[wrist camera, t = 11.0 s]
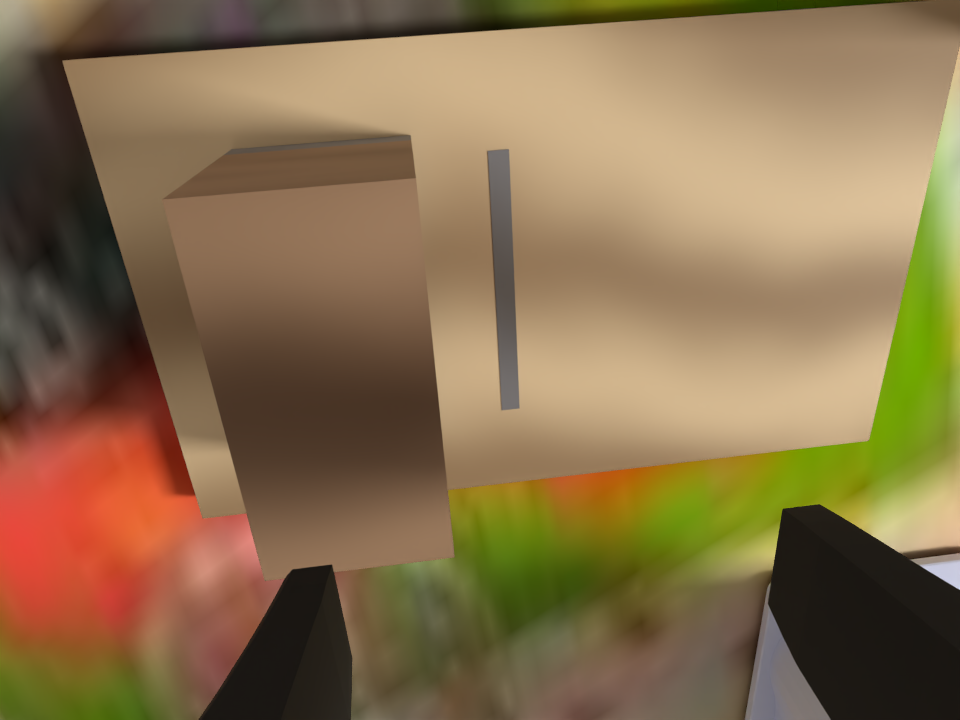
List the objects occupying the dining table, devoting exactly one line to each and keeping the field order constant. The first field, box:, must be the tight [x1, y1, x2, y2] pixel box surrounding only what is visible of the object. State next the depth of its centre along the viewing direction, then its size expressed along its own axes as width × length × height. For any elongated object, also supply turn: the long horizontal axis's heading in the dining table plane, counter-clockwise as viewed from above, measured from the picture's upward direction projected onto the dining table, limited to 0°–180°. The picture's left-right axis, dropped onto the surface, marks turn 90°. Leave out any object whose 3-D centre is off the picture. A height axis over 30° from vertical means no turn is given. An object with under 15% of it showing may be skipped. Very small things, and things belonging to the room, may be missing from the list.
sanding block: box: [162, 135, 454, 581], centre depth 15 cm, size 8×4×5 cm, turn 4°
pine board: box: [62, 0, 960, 518], centre depth 18 cm, size 12×20×1 cm, turn 93°
